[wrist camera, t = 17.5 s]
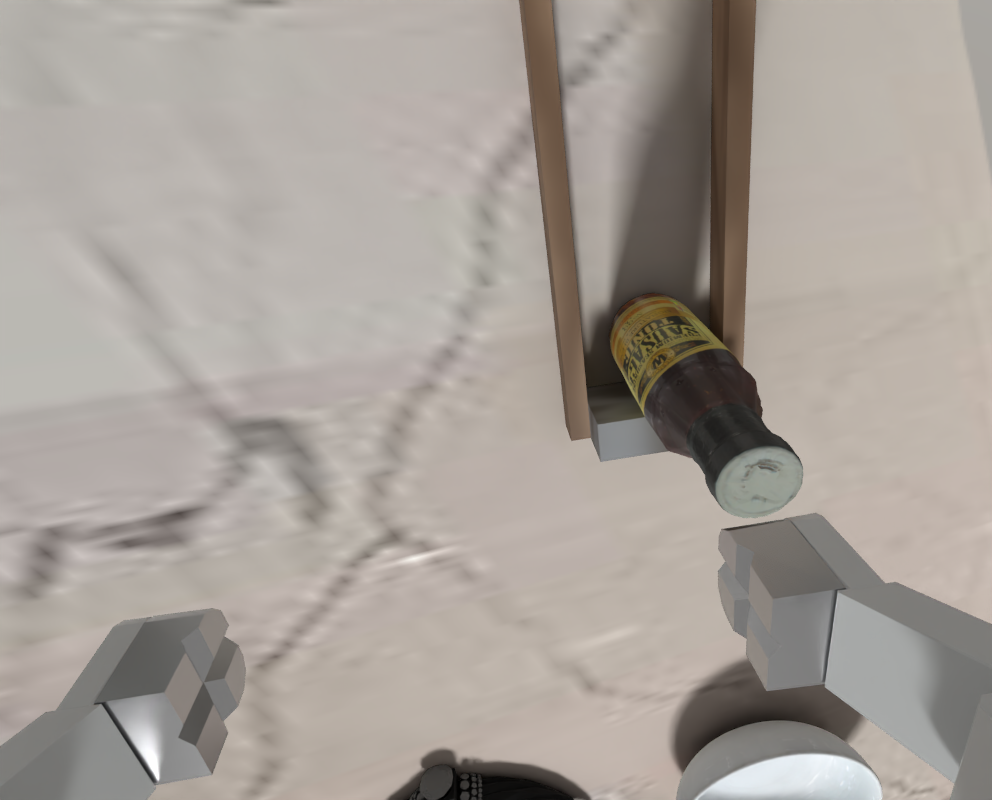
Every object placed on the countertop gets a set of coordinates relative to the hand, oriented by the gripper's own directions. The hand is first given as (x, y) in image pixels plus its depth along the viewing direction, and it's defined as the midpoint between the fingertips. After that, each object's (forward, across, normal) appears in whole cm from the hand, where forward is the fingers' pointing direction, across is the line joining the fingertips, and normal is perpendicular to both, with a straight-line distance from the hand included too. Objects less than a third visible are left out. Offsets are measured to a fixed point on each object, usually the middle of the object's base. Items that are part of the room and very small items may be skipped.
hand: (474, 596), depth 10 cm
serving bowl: (+34, -22, +62) cm, 74 cm away
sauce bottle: (+34, -12, +9) cm, 38 cm away
